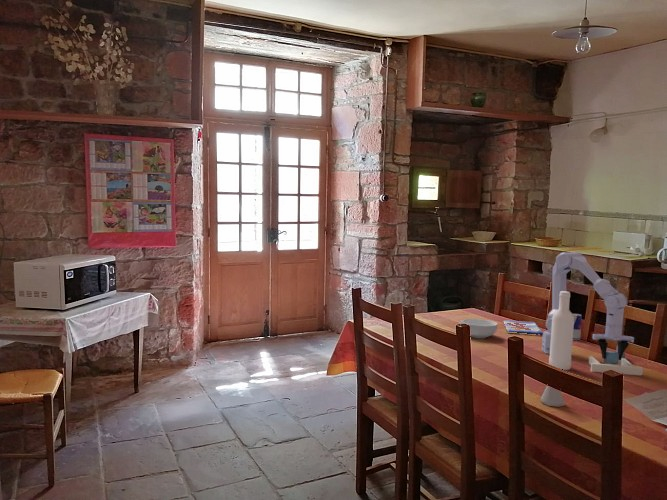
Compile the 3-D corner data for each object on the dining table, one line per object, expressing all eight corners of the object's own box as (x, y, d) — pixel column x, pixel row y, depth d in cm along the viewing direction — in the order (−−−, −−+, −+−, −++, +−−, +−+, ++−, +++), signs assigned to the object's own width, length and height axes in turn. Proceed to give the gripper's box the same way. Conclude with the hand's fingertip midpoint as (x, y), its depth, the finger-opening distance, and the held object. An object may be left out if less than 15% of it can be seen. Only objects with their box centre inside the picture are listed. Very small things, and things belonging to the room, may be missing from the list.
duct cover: (615, 355, 226) (616, 345, 226) (618, 355, 226) (619, 345, 225) (620, 364, 213) (621, 353, 213) (624, 364, 213) (625, 353, 213)
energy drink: (581, 341, 249) (583, 316, 248) (569, 340, 250) (571, 315, 249) (578, 338, 255) (580, 313, 254) (566, 337, 256) (568, 313, 255)
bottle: (573, 367, 208) (579, 292, 206) (566, 371, 203) (571, 294, 200) (553, 362, 214) (558, 289, 211) (545, 366, 208) (550, 291, 206)
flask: (536, 399, 173) (538, 369, 172) (557, 398, 174) (559, 369, 173) (547, 407, 166) (549, 376, 165) (569, 407, 167) (571, 376, 166)
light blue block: (606, 364, 207) (607, 354, 206) (602, 360, 212) (602, 350, 211) (620, 365, 206) (621, 355, 206) (615, 361, 211) (616, 351, 211)
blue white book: (536, 326, 280) (536, 321, 279) (544, 337, 257) (544, 331, 256) (501, 324, 283) (502, 318, 283) (506, 334, 260) (506, 329, 260)
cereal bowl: (500, 335, 256) (501, 321, 255) (491, 343, 242) (491, 327, 241) (466, 330, 265) (467, 316, 264) (455, 337, 251) (455, 322, 250)
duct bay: (591, 371, 204) (592, 363, 204) (582, 362, 215) (583, 355, 215) (642, 375, 201) (642, 367, 201) (630, 366, 212) (630, 358, 212)
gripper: (597, 325, 205) (594, 360, 206) (638, 328, 202) (635, 363, 204) (591, 321, 212) (589, 355, 213) (631, 324, 209) (628, 357, 210)
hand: (611, 358), depth 209 cm, fingers closed on light blue block, 5 cm apart
